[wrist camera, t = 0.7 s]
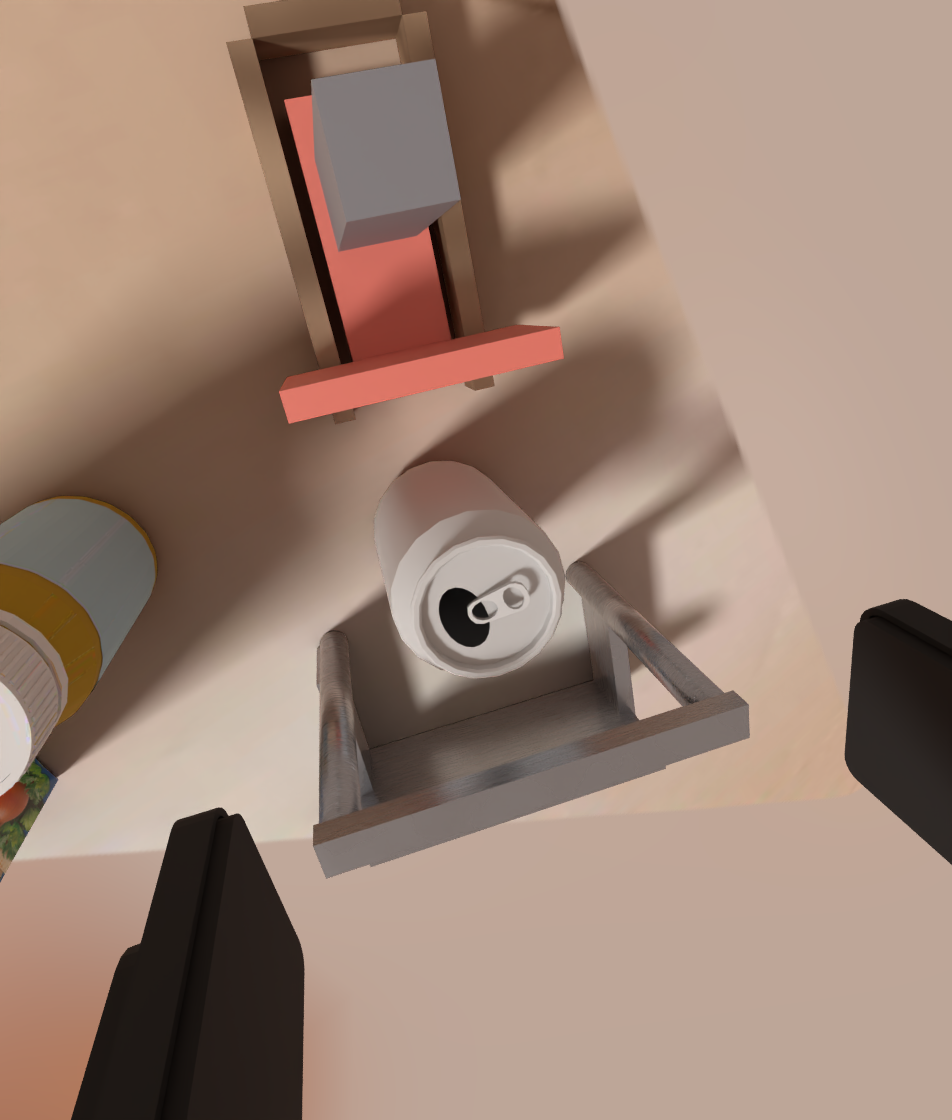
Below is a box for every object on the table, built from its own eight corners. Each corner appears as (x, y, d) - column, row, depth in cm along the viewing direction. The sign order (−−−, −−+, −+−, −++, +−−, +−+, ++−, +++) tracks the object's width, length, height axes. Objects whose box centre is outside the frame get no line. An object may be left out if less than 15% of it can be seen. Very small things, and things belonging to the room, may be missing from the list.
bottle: (113, 643, 34) (-25, 861, 21) (-23, 573, 32) (-285, 770, 18) (188, 545, 33) (95, 704, 20) (54, 463, 31) (-161, 584, 17)
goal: (313, 636, 37) (307, 848, 22) (591, 557, 39) (753, 702, 24) (358, 768, 41) (379, 1023, 26) (609, 690, 43) (758, 884, 28)
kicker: (213, 124, 27) (143, 1, 16) (461, 81, 29) (545, -58, 18) (296, 397, 32) (284, 438, 21) (507, 348, 33) (595, 364, 22)
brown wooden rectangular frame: (225, 35, 26) (216, 10, 24) (412, 6, 27) (420, -20, 25) (334, 416, 33) (335, 424, 31) (483, 381, 34) (494, 385, 32)
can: (346, 498, 34) (358, 584, 23) (468, 432, 35) (536, 486, 24) (412, 605, 37) (449, 726, 27) (523, 544, 38) (606, 638, 27)
